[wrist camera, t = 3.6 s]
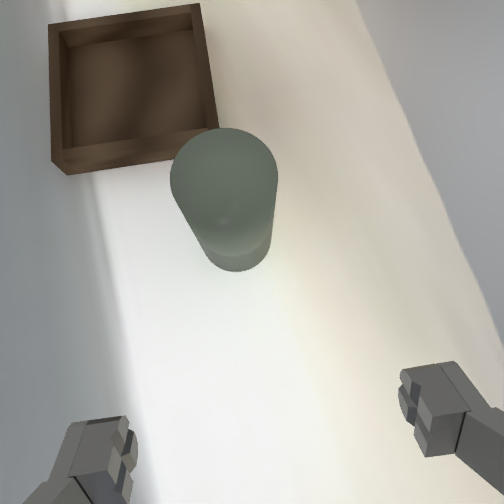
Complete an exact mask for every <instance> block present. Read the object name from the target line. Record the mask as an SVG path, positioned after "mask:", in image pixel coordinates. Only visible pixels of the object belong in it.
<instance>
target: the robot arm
mask: <svg viewBox="0 0 504 504" xmlns="http://www.w3.org/2000/svg"><path fill="white" fill-rule="evenodd" d="M400 380H401V382H402V383H403V384H402V385H401V386H400V387H399V389H398V398H399V404H400V407H401V410H402V413H403V415H404V417H405V419H406V421H407V422H409V423H410V424H411V425H413V426H414V427H415V429H414V437H415V439H416V441H417V443H418V445H419V447H420V449H421V451H422V453H423V455H424V457H433V456H440V455H447V454H455V453H456V454H455V455H456V456H457V457H458V458H459V459H461V460H462V461H463V462H464V463H465V464H467V465H468V466H469V467H470V468H471V469H473V470H474V471H475V472H476V473H477V474H479V475H480V476H481V477H482V478H483V479H485V480H486V481H487V482H488V483H489V484H491V485H492V486H493V487H494V488H495V489H497V490H498V491H499V492H500V493H501V494H503V495H504V412H503V411H502V410H500V409H498V408H497V407H495V408H491V407H490V406H489V405H488V403H487V402H486V401H485V399H484V398H483V397H482V395H481V394H480V393H479V391H478V390H477V389H476V388H475V386H474V385H473V384H472V382H471V381H470V380H469V378H468V377H467V376H466V374H465V373H464V372H463V370H462V369H461V368H460V366H459V365H458V364H457V363H456V362H454V361H449V362H443V363H437V364H429V365H423V366H418V367H412V368H407V369H402V371H401V372H400ZM128 427H129V420H128V419H127V417H126V415H124V416H117V417H109V418H102V419H95V420H87V421H81V422H74V423H72V424H71V425H70V426H69V427H68V429H67V431H66V434H65V436H64V439H63V442H62V445H61V447H60V450H59V453H58V455H57V458H56V461H55V463H54V466H53V469H52V471H51V474H50V477H49V479H48V481H46V482H42V483H41V484H40V485H39V486H38V488H37V489H36V490H35V491H34V492H33V493H32V494H31V495H30V496H29V497H28V498H27V499H26V500H25V502H24V503H23V504H130V498H131V493H132V487H133V480H132V478H131V476H130V473H131V472H132V471H133V469H134V468H135V467H136V465H137V459H138V442H137V437H136V435H135V433H134V431H132V430H130V429H128Z"/></svg>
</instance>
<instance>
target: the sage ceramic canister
mask: <svg viewBox="0 0 504 504" xmlns="http://www.w3.org/2000/svg"><path fill="white" fill-rule="evenodd" d="M277 183H278V171H277V165H276V162H275V159H274V157H273V155H272V153H271V151H270V150H269V149H268V147H267V146H266V145H265V144H264V143H263V142H262V141H261V140H259V139H258V138H257V137H255V136H253V135H252V134H250V133H247V132H245V131H242V130H238V129H232V128H219V129H213V130H209V131H206V132H203V133H201V134H199V135H197V136H195V137H194V138H192V139H191V140H189V141H188V142H187V143H186V144H185V145H184V146H183V147H182V148H181V149H180V151H179V152H178V154H177V155H176V157H175V159H174V162H173V164H172V168H171V173H170V185H171V191H172V194H173V197H174V199H175V200H176V202H177V204H178V206H179V208H180V210H181V211H182V213H183V215H184V217H185V219H186V220H187V222H188V224H189V226H190V227H191V229H192V231H193V233H194V235H195V236H196V238H197V240H198V242H199V243H200V245H201V247H202V249H203V251H204V252H205V254H206V256H207V257H208V259H209V260H210V261H211V262H212V263H213V264H214V265H216V266H217V267H219V268H221V269H223V270H226V271H231V272H241V271H246V270H249V269H251V268H253V267H255V266H256V265H258V264H259V263H260V262H261V261H262V260H263V259H264V258H265V256H266V255H267V253H268V250H269V248H270V243H271V235H272V227H273V218H274V209H275V200H276V192H277Z"/></svg>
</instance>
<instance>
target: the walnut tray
mask: <svg viewBox="0 0 504 504" xmlns="http://www.w3.org/2000/svg"><path fill="white" fill-rule="evenodd" d="M48 44H49V85H50V125H51V161H52V162H53V163H54V164H55V165H56V166H57V167H58V168H59V169H61V170H62V171H63V172H64V173H65V174H66V175H72V174H79V173H86V172H92V171H99V170H105V169H112V168H119V167H125V166H132V165H138V164H145V163H151V162H158V161H165V160H171V159H175V157H176V155H177V154H178V152H179V151H180V149H181V148H182V147H183V146H184V145H185V144H186V143H187V142H188V141H189V140H191V139H192V138H194V137H195V136H197V135H199V134H201V133H203V132H206V131H209V130H213V129H219V123H218V116H217V110H216V104H215V97H214V91H213V84H212V78H211V71H210V65H209V58H208V52H207V45H206V39H205V33H204V26H203V20H202V14H201V9H200V3H195V4H188V5H181V6H174V7H167V8H160V9H153V10H146V11H139V12H132V13H125V14H118V15H111V16H104V17H97V18H90V19H83V20H76V21H69V22H62V23H55V24H48Z"/></svg>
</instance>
